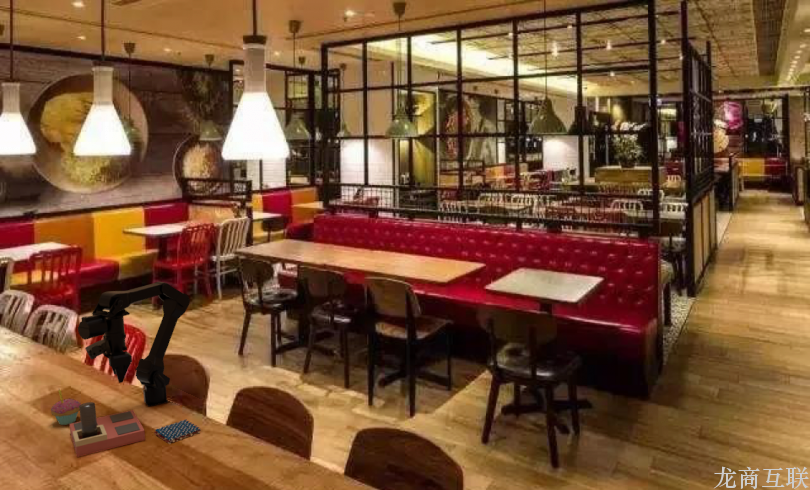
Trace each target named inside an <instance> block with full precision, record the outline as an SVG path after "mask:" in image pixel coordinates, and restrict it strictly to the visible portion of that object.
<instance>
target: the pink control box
mask: <svg viewBox="0 0 810 490" xmlns="http://www.w3.org/2000/svg"><path fill="white" fill-rule="evenodd" d="M96 421H97V432H98V435H96V436H92V437H88V438H84V439H82V430H81V421H77V422H76V421H75V422H73V423H71V424H69V430H70V431H69V432H70V436H71V439H72V440H71V441H72V443H73V448H74V452H75V455H76V457H77V458H78V457H82V456H86V455H90V454H95V453H98V452H103V451H106V450H110V449H114V448H119V447H122V446H126V445H130V444H134V443H138V442H142V441H146V435H145V434H146V433H145V429H144V426H143V425H142V423H141V422H140V420H139V418H138V416H137V414H136V413H135V410H134V409H132V410H126V411H122V412H118V413H113V414H108V415H104V416H100V417H96Z"/></svg>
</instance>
